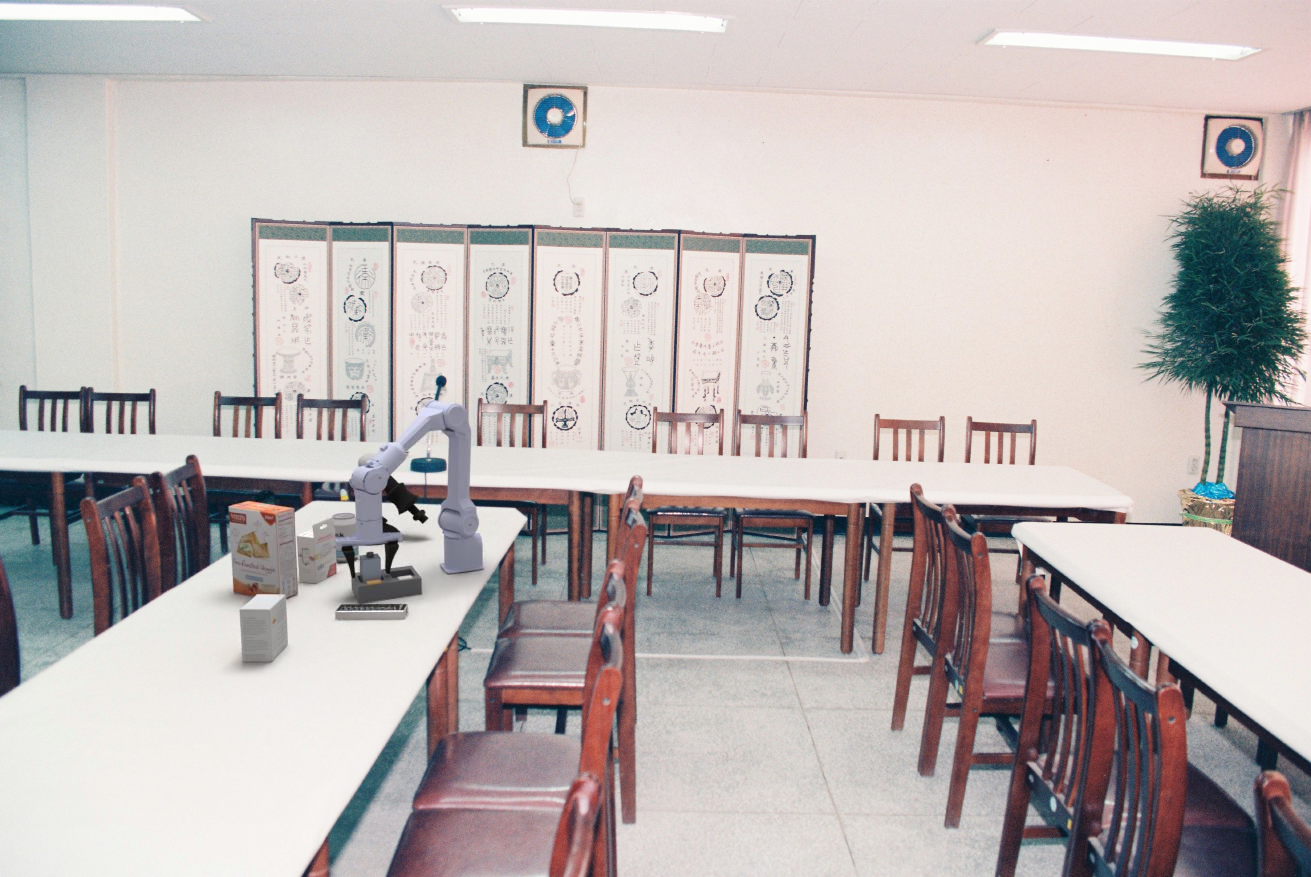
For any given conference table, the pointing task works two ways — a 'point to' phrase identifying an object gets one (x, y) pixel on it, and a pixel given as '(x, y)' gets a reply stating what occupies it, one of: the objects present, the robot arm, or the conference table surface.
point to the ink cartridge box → (317, 552)
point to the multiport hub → (371, 611)
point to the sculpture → (397, 499)
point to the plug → (370, 567)
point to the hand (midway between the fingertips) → (370, 574)
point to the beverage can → (344, 532)
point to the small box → (263, 627)
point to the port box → (388, 585)
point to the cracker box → (263, 549)
